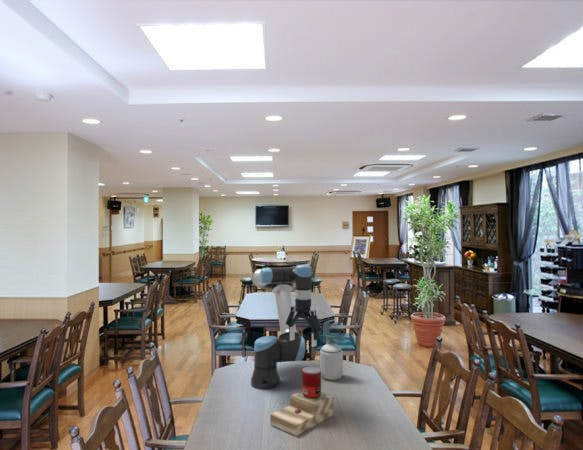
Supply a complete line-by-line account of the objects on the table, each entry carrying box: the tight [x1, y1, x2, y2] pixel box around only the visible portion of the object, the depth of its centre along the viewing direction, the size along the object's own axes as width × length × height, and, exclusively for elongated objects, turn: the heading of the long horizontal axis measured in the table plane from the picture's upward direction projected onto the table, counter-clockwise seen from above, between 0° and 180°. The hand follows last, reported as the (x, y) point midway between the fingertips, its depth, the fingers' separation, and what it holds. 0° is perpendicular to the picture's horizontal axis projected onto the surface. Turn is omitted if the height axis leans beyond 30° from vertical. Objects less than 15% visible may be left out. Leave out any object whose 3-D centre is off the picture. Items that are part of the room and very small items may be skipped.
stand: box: [269, 389, 334, 437], centre depth 168 cm, size 24×14×8 cm, turn 138°
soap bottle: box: [319, 319, 344, 381], centre depth 217 cm, size 12×12×31 cm
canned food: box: [301, 366, 322, 398], centre depth 173 cm, size 8×8×11 cm
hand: (302, 343), depth 189 cm, fingers open, 13 cm apart
